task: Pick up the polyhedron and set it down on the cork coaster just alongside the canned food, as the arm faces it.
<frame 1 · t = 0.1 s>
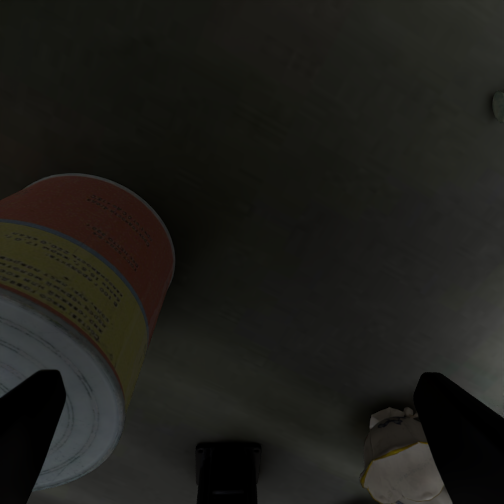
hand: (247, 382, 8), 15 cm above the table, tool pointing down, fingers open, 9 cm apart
canned food: (93, 253, 23), on the table
chinaware: (397, 468, 36), on the table
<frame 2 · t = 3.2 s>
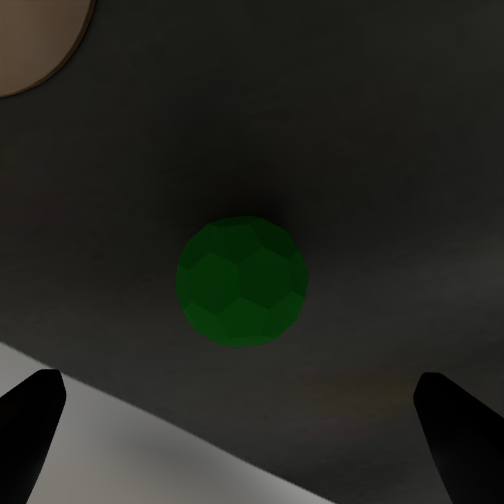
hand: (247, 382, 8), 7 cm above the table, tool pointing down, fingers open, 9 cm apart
polyhedron: (241, 250, 15), on the table
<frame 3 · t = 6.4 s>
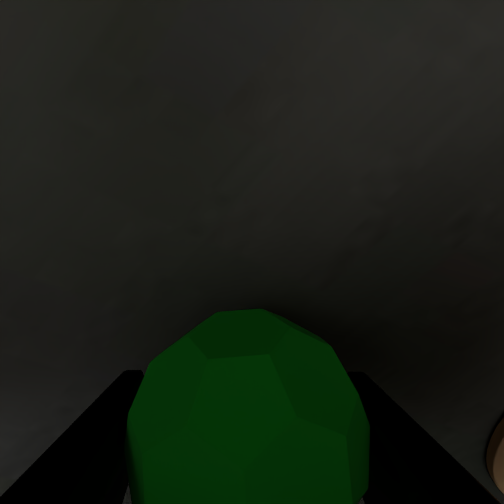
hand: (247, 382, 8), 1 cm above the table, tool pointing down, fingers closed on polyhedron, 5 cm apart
polyhedron: (244, 342, 9), on the table, touching gripper
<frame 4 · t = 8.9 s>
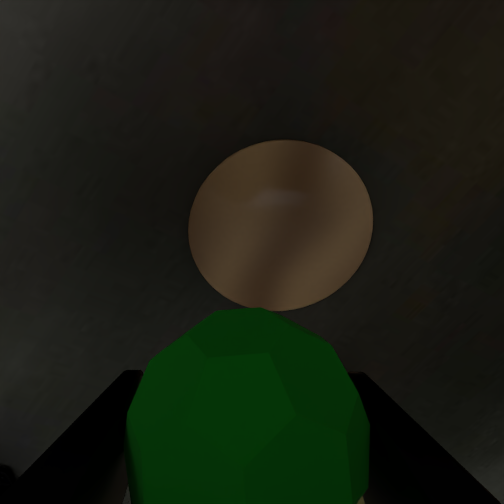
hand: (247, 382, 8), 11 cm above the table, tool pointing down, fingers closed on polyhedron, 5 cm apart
polyhedron: (244, 341, 9), point 9 cm above the table, touching gripper
coaster: (280, 233, 18), on the table
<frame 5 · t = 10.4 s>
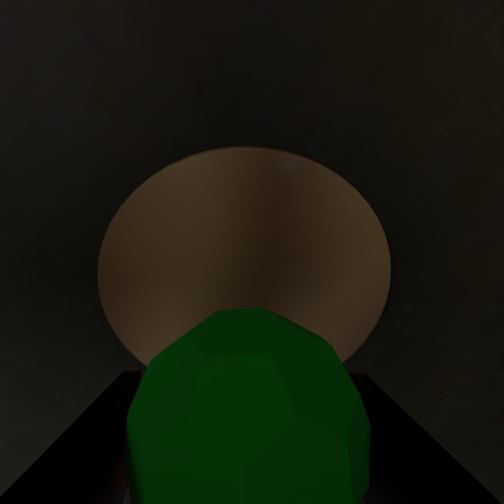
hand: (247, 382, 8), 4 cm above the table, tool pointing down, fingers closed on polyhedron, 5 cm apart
polyhedron: (244, 341, 9), point 3 cm above the table, touching gripper
coaster: (246, 290, 12), on the table
when the fingers open (2 cm above the table, at t = 11.4 s): polyhedron stays where it is, resting on coaster.
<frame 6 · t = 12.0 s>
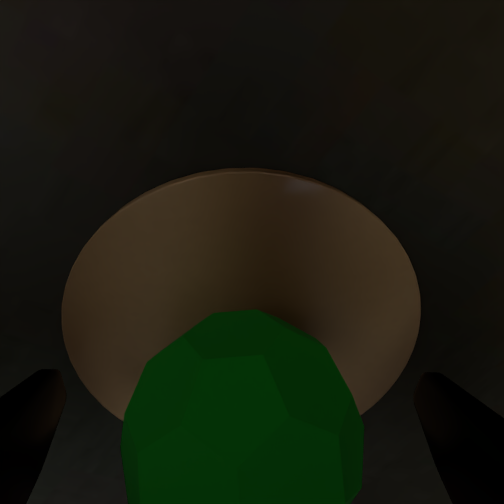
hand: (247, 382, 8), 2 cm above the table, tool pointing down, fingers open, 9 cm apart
polyhedron: (241, 343, 9), resting on coaster
coaster: (245, 337, 10), on the table
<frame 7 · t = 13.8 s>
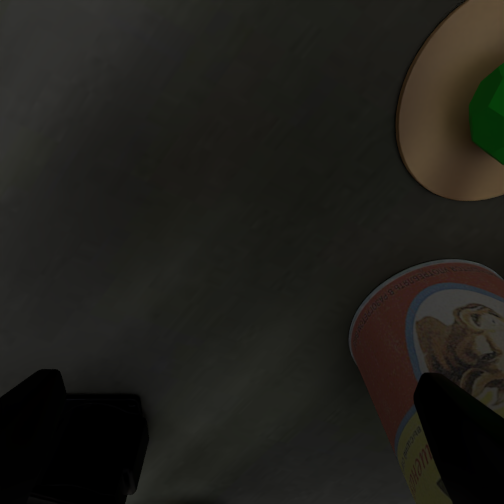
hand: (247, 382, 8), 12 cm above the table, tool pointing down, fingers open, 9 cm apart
polyhedron: (495, 104, 16), resting on coaster
canned food: (426, 326, 23), on the table
coaster: (494, 103, 16), on the table
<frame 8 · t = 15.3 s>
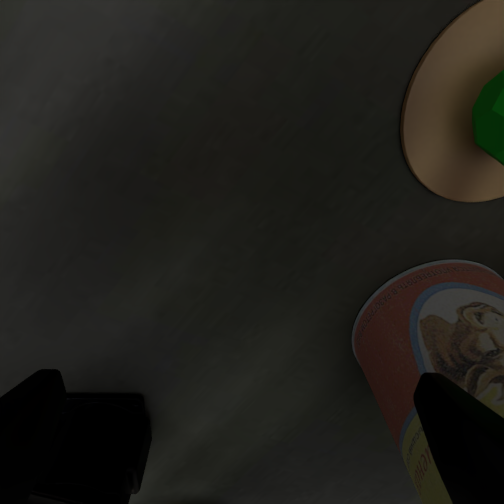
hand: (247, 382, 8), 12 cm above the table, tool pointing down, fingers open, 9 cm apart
polyhedron: (497, 107, 17), resting on coaster
canned food: (427, 326, 24), on the table
coaster: (496, 107, 17), on the table
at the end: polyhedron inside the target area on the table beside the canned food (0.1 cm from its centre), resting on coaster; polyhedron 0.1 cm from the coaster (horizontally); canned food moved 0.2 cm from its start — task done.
